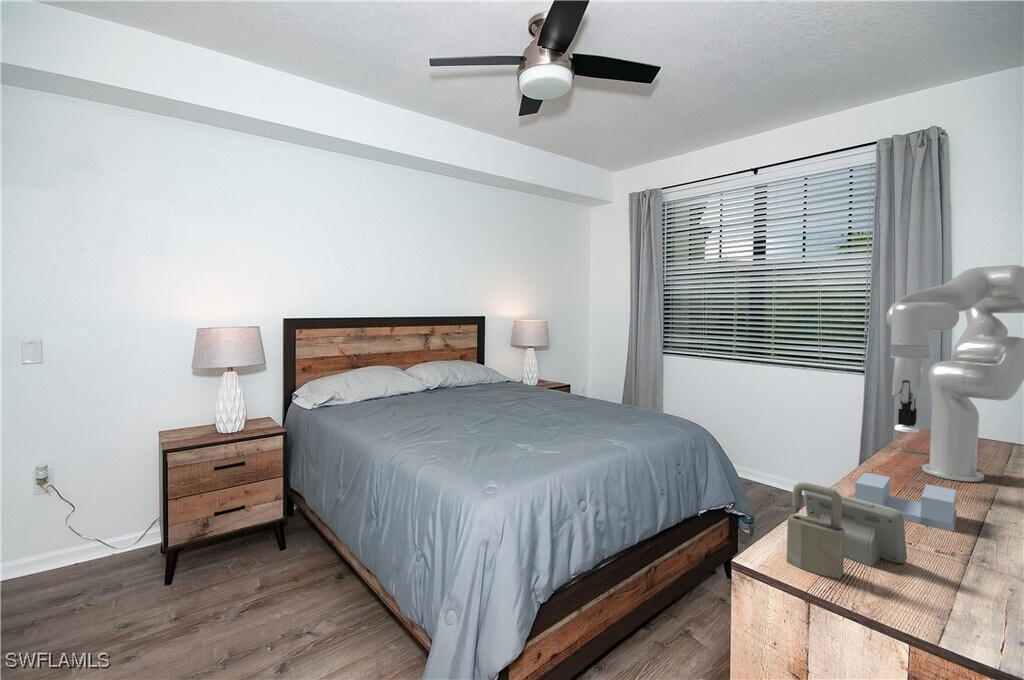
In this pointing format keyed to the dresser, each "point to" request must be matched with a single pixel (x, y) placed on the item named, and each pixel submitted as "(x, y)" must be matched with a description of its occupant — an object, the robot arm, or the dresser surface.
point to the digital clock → (864, 528)
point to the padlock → (816, 536)
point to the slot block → (930, 511)
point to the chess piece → (907, 428)
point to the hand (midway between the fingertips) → (907, 423)
